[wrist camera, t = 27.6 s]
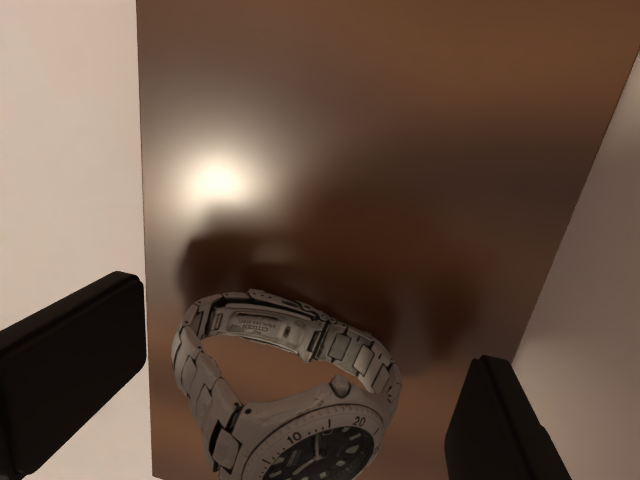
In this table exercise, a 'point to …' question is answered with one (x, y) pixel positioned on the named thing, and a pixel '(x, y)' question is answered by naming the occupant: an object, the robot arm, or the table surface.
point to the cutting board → (365, 185)
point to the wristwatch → (292, 411)
